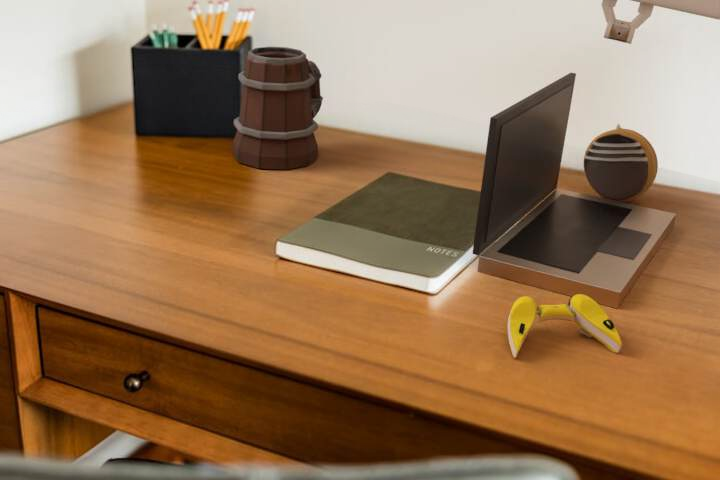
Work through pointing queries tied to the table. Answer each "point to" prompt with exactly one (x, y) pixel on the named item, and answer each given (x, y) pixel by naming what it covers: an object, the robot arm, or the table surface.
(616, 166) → the striped round disc
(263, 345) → the table surface
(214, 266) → the table surface
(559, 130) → the laptop screen
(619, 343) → the game controller
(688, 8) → the robot arm
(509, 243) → the laptop
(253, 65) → the mug
